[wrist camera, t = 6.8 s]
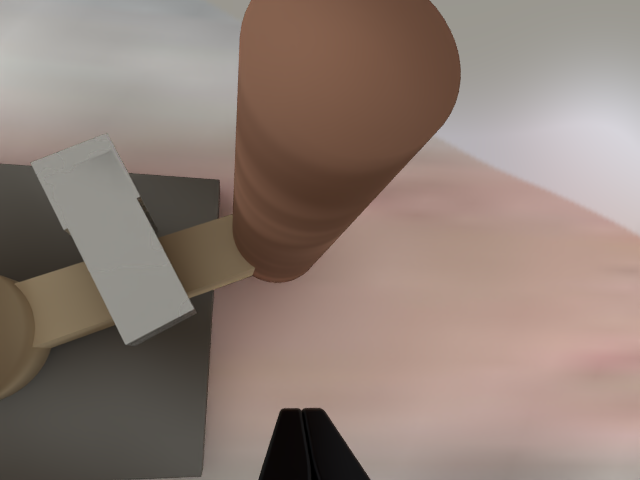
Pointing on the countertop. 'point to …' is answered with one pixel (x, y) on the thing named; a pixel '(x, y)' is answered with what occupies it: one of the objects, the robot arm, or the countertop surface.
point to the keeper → (115, 238)
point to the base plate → (106, 356)
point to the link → (278, 158)
